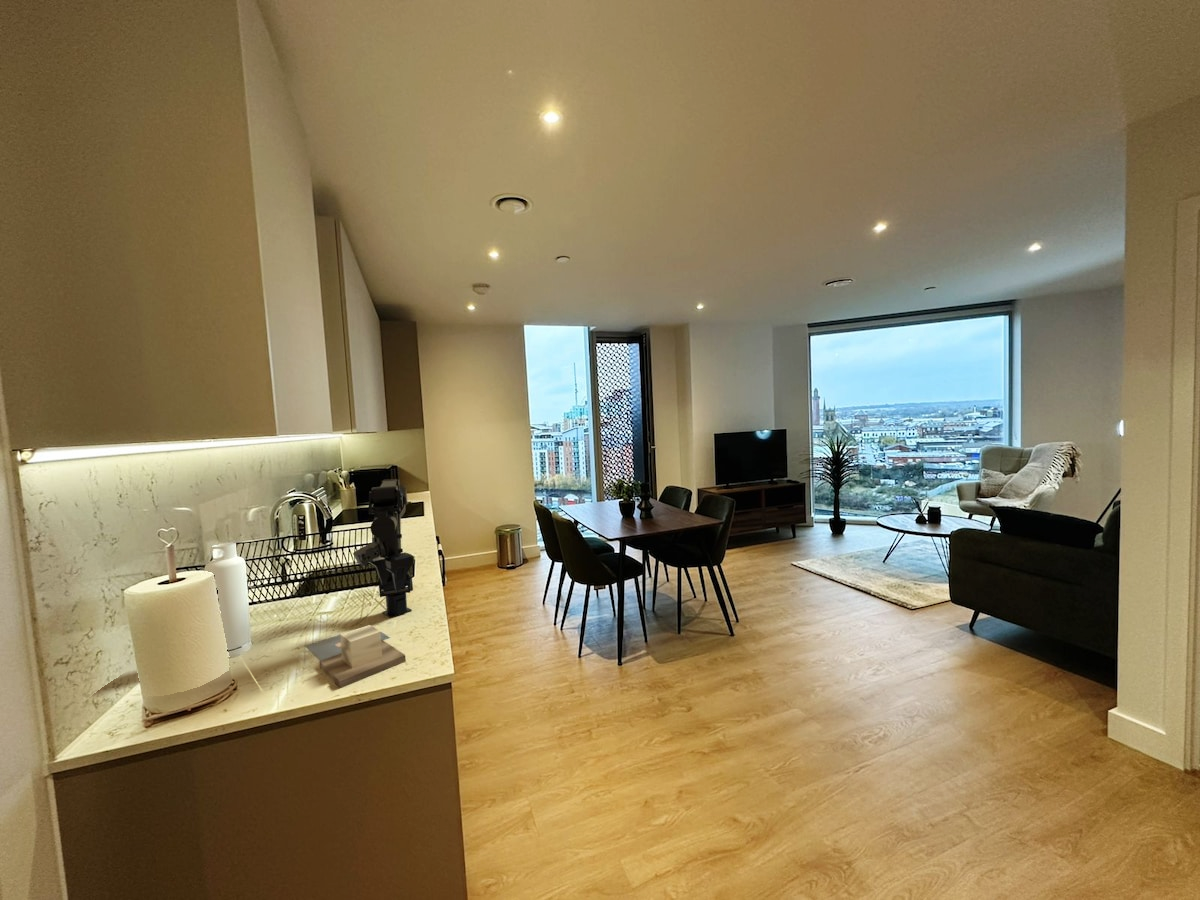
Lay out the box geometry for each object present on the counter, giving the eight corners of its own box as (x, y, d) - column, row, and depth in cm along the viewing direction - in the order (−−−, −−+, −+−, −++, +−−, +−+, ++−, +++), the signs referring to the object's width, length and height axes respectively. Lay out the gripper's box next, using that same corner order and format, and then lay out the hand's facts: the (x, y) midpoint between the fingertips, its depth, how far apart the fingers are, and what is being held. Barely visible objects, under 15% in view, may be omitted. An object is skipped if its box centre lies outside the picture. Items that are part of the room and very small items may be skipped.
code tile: (305, 646, 115) (304, 645, 115) (369, 625, 126) (369, 624, 126) (321, 663, 105) (321, 662, 105) (390, 638, 117) (390, 637, 117)
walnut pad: (319, 667, 103) (319, 661, 103) (381, 644, 114) (381, 639, 113) (340, 688, 94) (339, 681, 94) (405, 661, 104) (405, 655, 104)
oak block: (342, 659, 103) (340, 634, 103) (371, 648, 108) (369, 624, 108) (352, 668, 99) (350, 641, 99) (382, 656, 104) (380, 631, 104)
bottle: (259, 644, 118) (252, 540, 117) (234, 659, 110) (226, 547, 109) (229, 645, 118) (221, 541, 117) (202, 660, 110) (193, 549, 109)
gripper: (343, 533, 122) (347, 589, 123) (369, 541, 110) (373, 603, 110) (385, 526, 130) (388, 578, 131) (413, 533, 118) (417, 590, 118)
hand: (390, 587), depth 122 cm, fingers open, 9 cm apart
